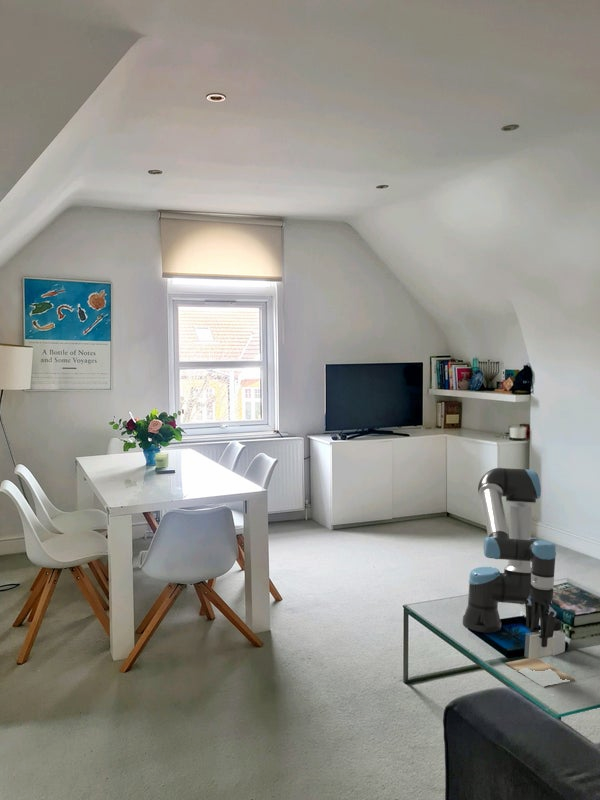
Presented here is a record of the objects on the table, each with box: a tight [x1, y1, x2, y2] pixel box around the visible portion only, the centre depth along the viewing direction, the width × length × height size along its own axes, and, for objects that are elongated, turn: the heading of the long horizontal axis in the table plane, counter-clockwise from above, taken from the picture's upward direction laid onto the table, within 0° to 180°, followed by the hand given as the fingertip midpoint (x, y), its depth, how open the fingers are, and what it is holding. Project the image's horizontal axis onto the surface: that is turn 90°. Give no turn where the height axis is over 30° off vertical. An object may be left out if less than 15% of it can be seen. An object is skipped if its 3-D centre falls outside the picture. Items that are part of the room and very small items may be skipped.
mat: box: [504, 657, 576, 682], centre depth 224 cm, size 18×14×1 cm
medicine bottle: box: [538, 618, 567, 657], centre depth 242 cm, size 7×7×12 cm
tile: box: [523, 631, 552, 659], centre depth 225 cm, size 2×10×8 cm, turn 115°
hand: (538, 653), depth 225 cm, fingers closed on tile, 2 cm apart
